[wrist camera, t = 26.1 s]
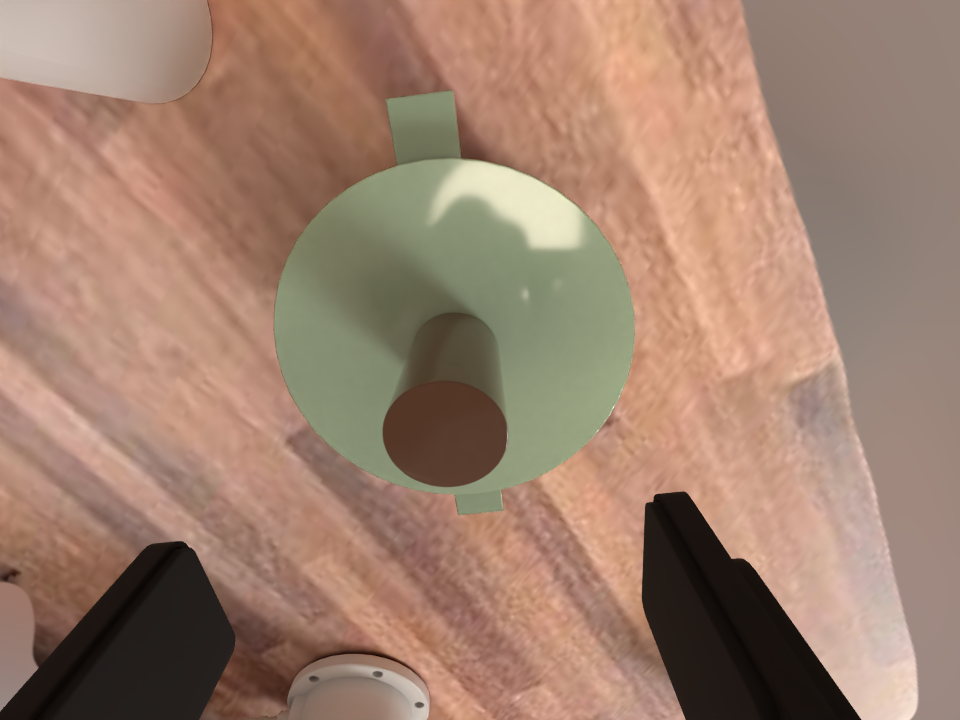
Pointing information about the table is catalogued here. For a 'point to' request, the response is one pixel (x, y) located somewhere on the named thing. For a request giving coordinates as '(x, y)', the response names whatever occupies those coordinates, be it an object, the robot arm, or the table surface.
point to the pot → (432, 135)
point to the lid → (454, 326)
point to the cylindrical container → (107, 46)
